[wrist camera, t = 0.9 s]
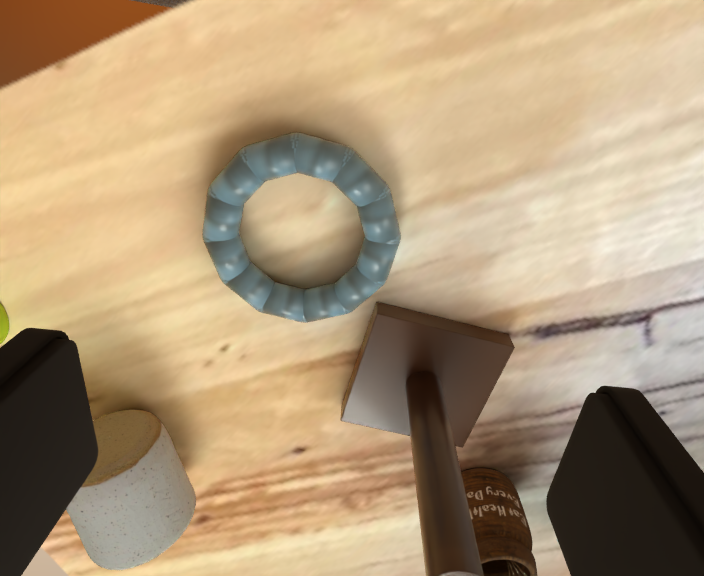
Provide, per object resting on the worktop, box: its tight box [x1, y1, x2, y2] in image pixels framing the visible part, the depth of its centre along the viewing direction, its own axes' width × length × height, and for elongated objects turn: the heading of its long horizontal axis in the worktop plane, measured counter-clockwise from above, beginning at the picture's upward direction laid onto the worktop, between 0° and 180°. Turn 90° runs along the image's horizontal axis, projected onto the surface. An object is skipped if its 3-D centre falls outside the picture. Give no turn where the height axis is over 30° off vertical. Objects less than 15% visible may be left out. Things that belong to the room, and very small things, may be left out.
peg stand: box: [341, 302, 515, 576], centre depth 26 cm, size 9×9×14 cm
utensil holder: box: [461, 468, 537, 576], centre depth 32 cm, size 6×6×12 cm
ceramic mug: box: [66, 409, 196, 570], centre depth 33 cm, size 11×8×8 cm
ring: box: [202, 132, 401, 323], centre depth 27 cm, size 11×11×2 cm
